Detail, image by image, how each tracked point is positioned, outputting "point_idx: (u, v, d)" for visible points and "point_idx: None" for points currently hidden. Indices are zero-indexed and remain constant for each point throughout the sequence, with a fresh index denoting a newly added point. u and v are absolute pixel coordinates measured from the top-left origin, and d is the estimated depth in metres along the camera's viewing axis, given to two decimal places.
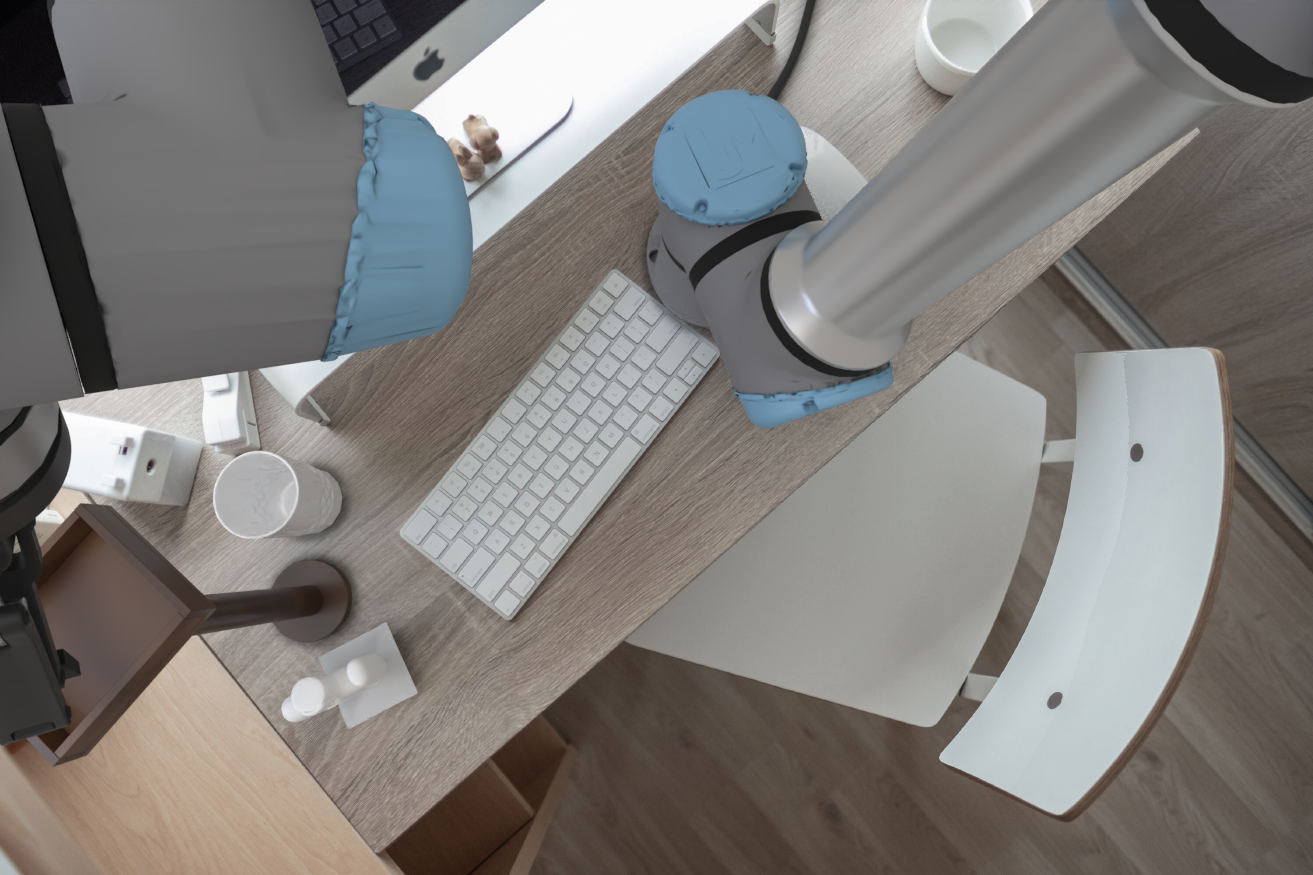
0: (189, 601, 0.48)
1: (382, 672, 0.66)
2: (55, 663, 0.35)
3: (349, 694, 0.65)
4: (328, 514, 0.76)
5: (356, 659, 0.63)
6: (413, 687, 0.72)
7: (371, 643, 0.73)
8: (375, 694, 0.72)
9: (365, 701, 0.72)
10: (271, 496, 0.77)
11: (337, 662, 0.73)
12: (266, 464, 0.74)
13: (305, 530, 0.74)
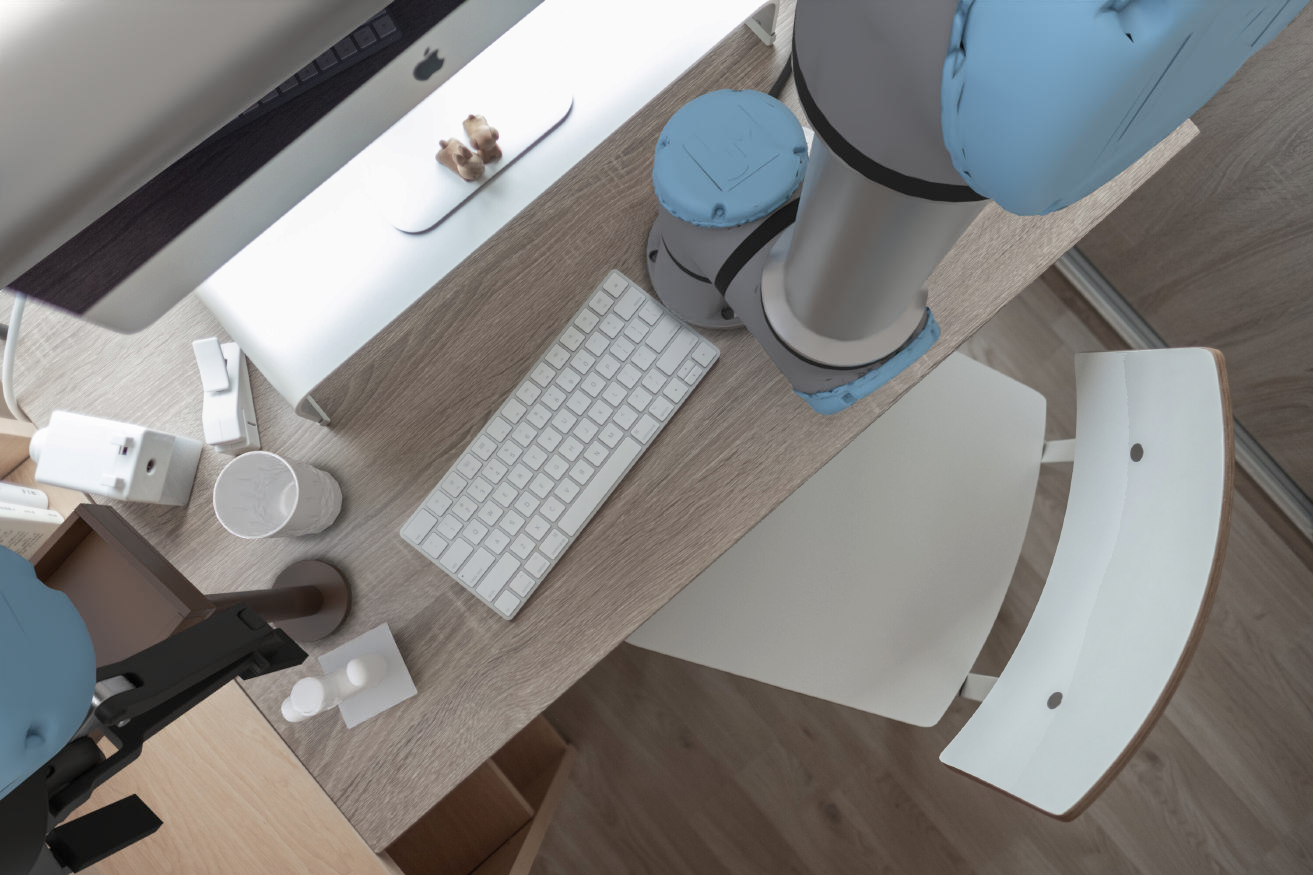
0: (189, 601, 0.48)
1: (382, 672, 0.66)
2: None
3: (349, 694, 0.65)
4: (328, 514, 0.76)
5: (356, 659, 0.63)
6: (413, 687, 0.72)
7: (371, 643, 0.73)
8: (375, 694, 0.72)
9: (365, 701, 0.72)
10: (271, 496, 0.77)
11: (337, 662, 0.73)
12: (266, 464, 0.74)
13: (305, 530, 0.74)
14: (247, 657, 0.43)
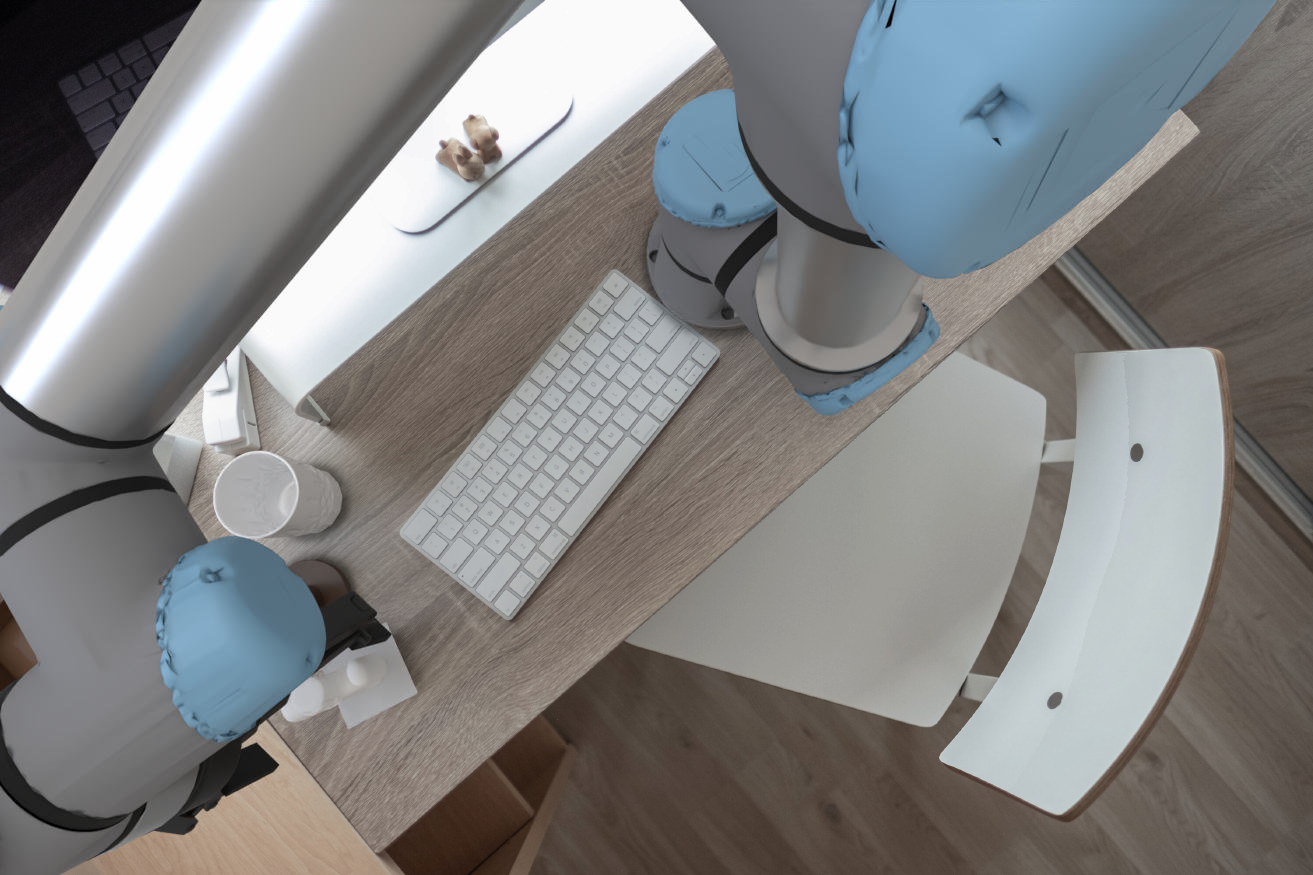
0: None
1: (382, 672, 0.66)
2: (205, 805, 0.55)
3: (349, 694, 0.65)
4: (328, 514, 0.76)
5: (356, 659, 0.63)
6: (413, 687, 0.72)
7: None
8: (375, 694, 0.72)
9: (365, 701, 0.72)
10: (271, 496, 0.77)
11: (337, 662, 0.73)
12: (266, 464, 0.74)
13: (305, 530, 0.74)
14: (356, 632, 0.57)
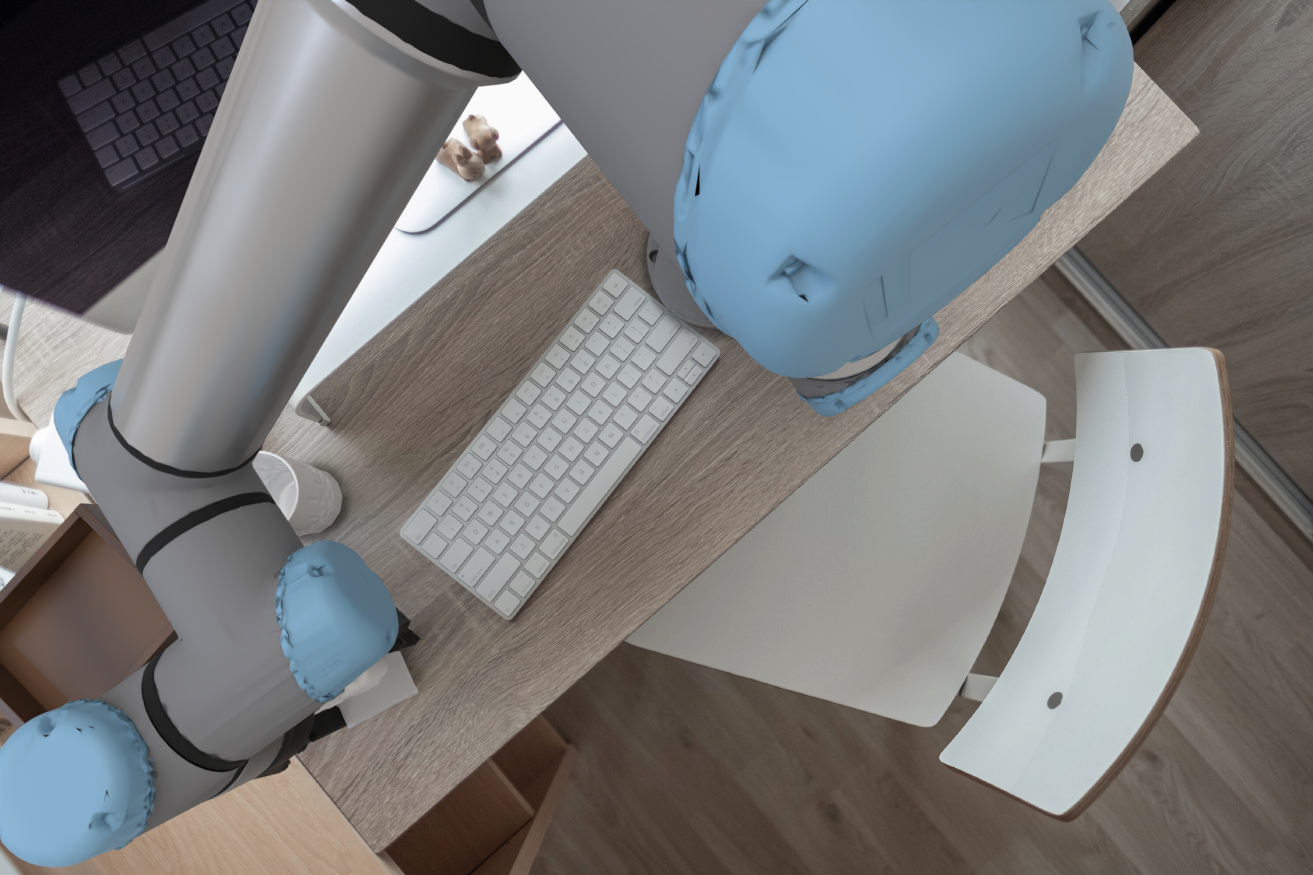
0: None
1: (383, 671, 0.66)
2: None
3: (350, 693, 0.65)
4: (328, 514, 0.76)
5: None
6: (413, 686, 0.72)
7: None
8: (376, 693, 0.72)
9: (365, 701, 0.72)
10: None
11: None
12: (266, 464, 0.74)
13: (305, 530, 0.74)
14: None
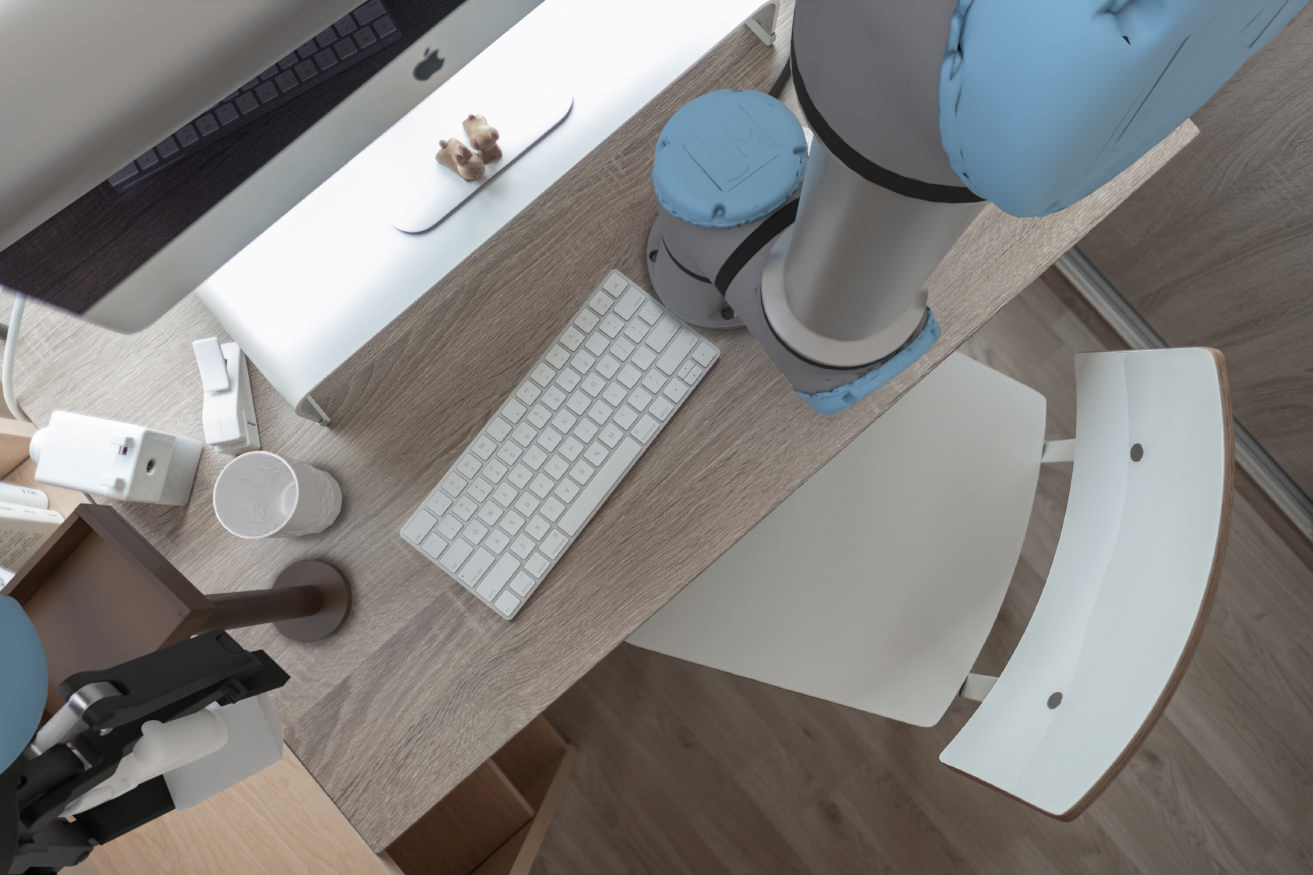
0: (189, 601, 0.48)
1: (202, 738, 0.41)
2: (62, 865, 0.41)
3: (150, 773, 0.41)
4: (328, 514, 0.76)
5: (148, 721, 0.39)
6: (276, 750, 0.48)
7: None
8: (220, 761, 0.48)
9: (204, 772, 0.48)
10: (271, 496, 0.77)
11: None
12: (266, 464, 0.74)
13: (305, 530, 0.74)
14: (226, 682, 0.43)
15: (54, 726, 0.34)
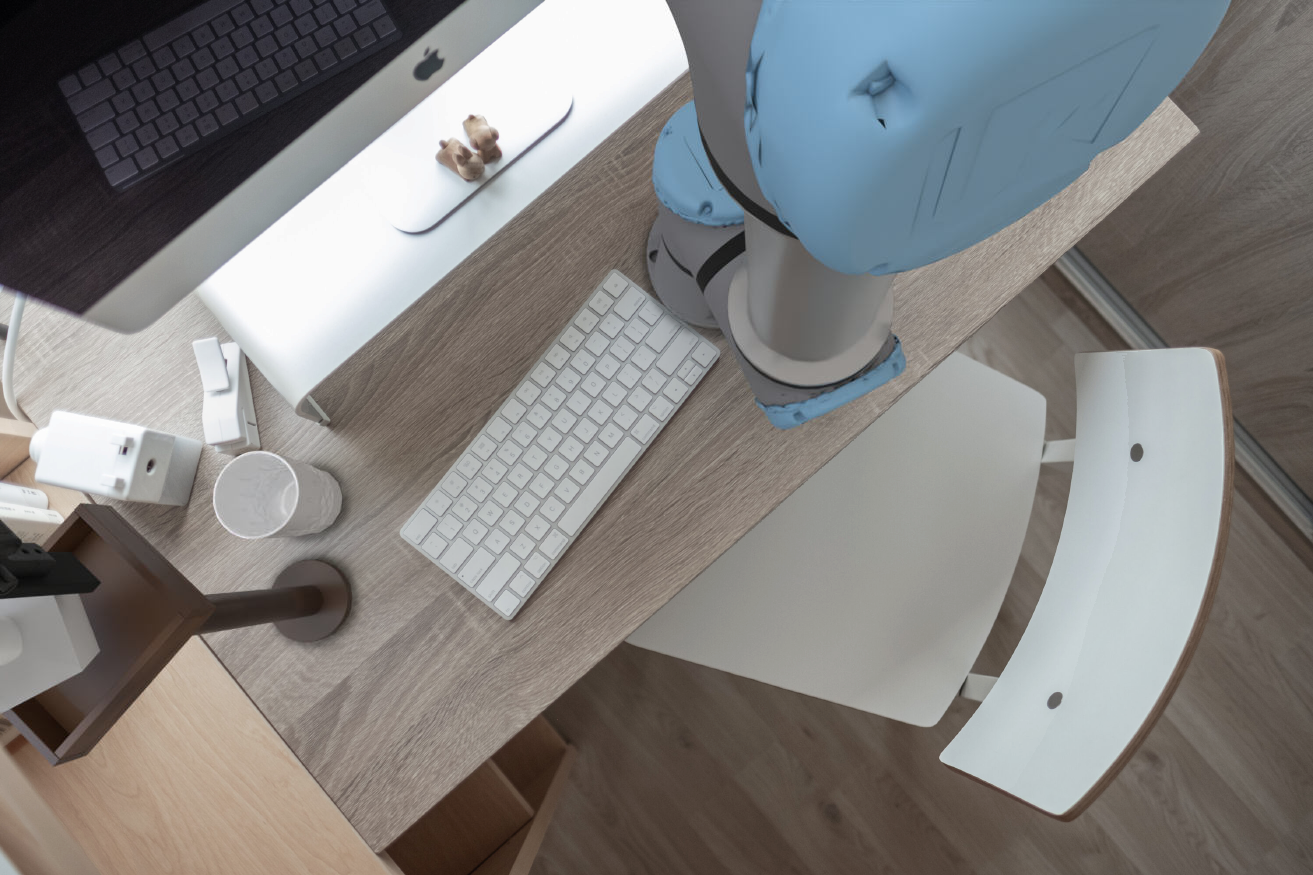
0: (189, 601, 0.48)
1: None
2: None
3: None
4: (328, 514, 0.76)
5: None
6: (75, 662, 0.43)
7: None
8: (12, 673, 0.43)
9: None
10: (271, 496, 0.77)
11: None
12: (266, 464, 0.74)
13: (305, 530, 0.74)
14: None
15: None
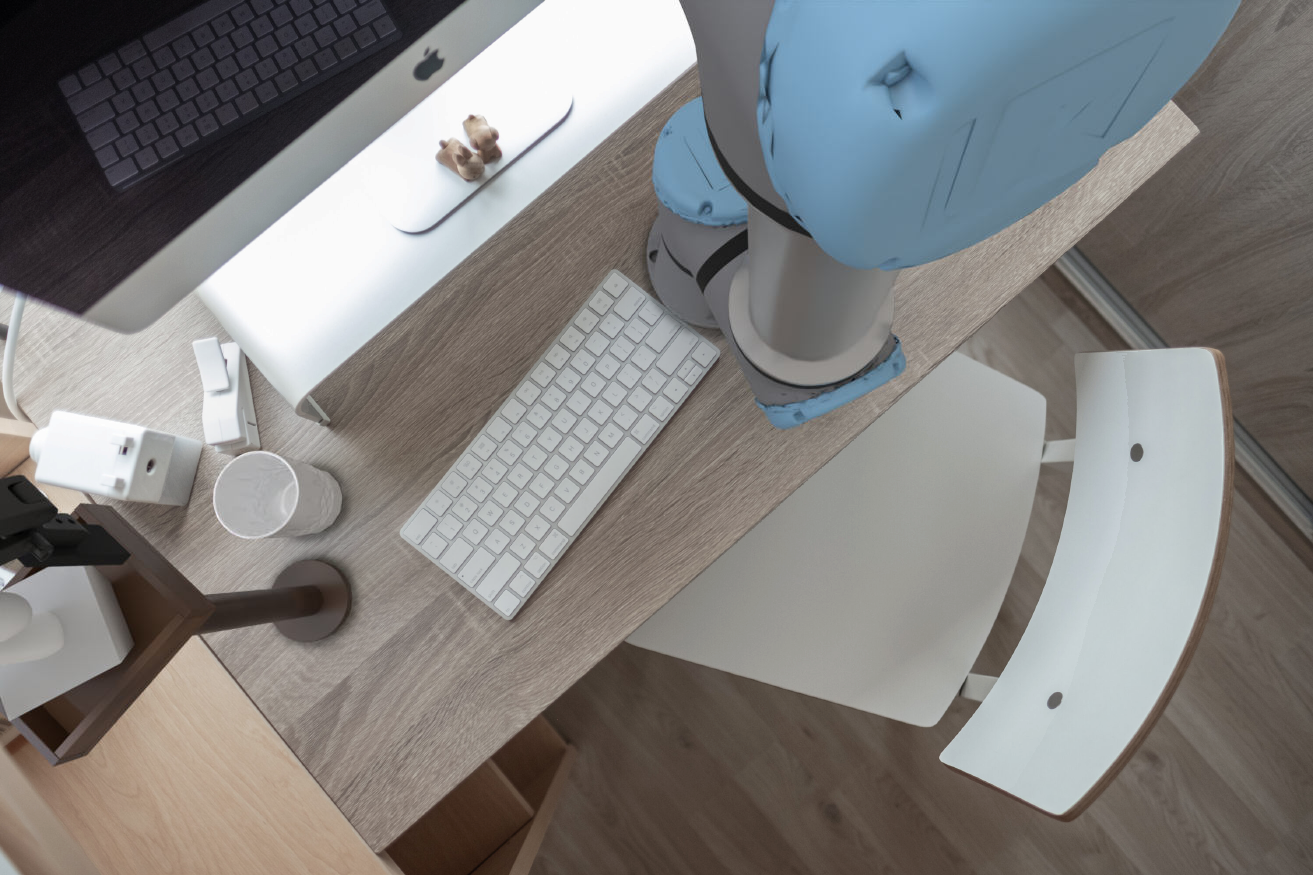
0: (189, 601, 0.48)
1: (8, 622, 0.39)
2: None
3: None
4: (328, 514, 0.76)
5: None
6: (114, 654, 0.45)
7: (53, 585, 0.46)
8: (55, 665, 0.46)
9: (38, 677, 0.46)
10: (271, 496, 0.77)
11: None
12: (266, 464, 0.74)
13: (305, 530, 0.74)
14: (23, 537, 0.38)
15: None
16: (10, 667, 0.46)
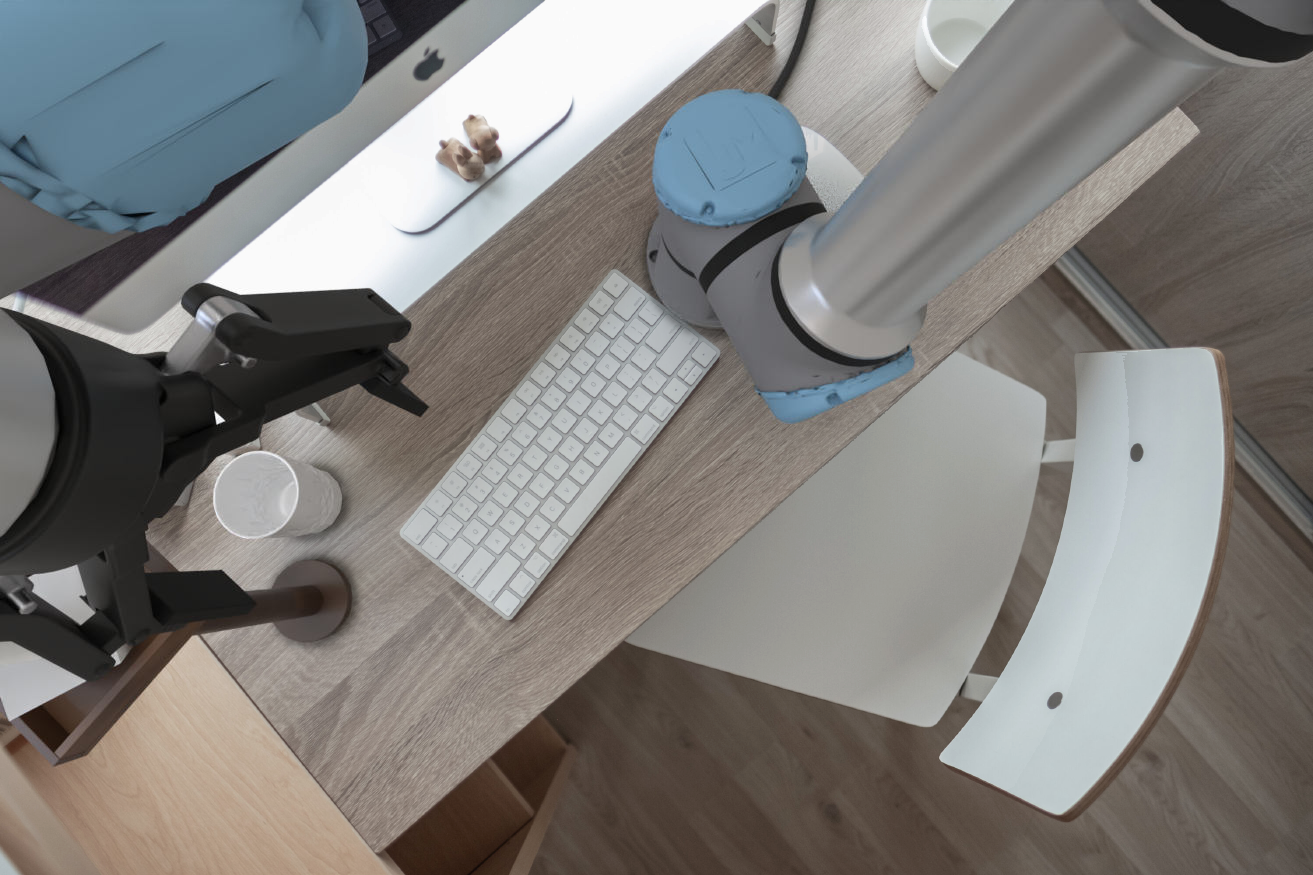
0: None
1: None
2: (125, 630, 0.32)
3: None
4: (328, 514, 0.76)
5: None
6: (114, 654, 0.45)
7: (53, 585, 0.46)
8: (55, 665, 0.46)
9: (38, 677, 0.46)
10: (271, 496, 0.77)
11: None
12: (266, 464, 0.74)
13: (305, 530, 0.74)
14: (378, 355, 0.34)
15: (185, 346, 0.26)
16: (10, 667, 0.46)
